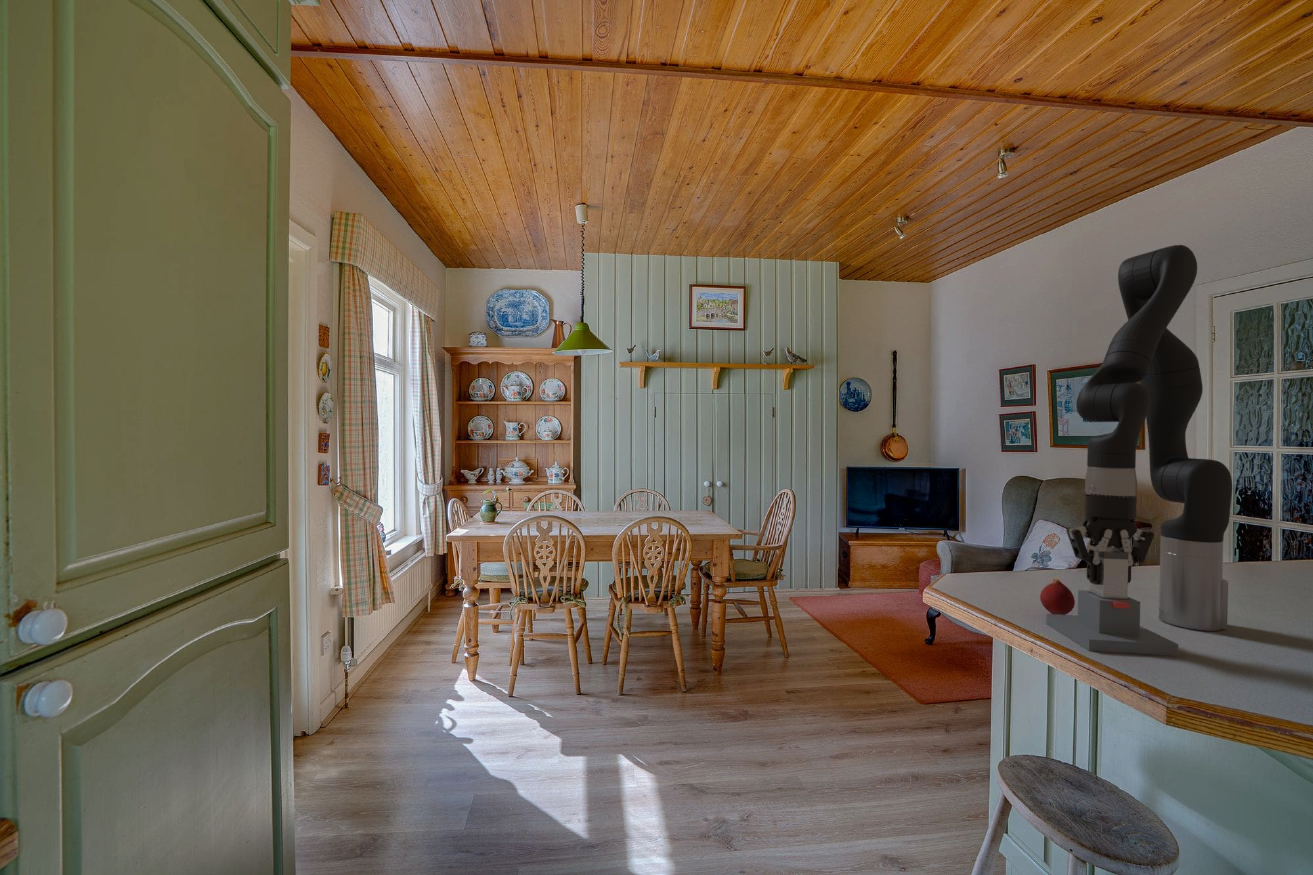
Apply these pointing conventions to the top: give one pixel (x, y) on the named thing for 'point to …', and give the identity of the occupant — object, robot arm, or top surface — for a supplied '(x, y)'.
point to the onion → (1057, 598)
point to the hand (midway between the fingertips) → (1108, 583)
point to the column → (1112, 576)
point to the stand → (1110, 627)
